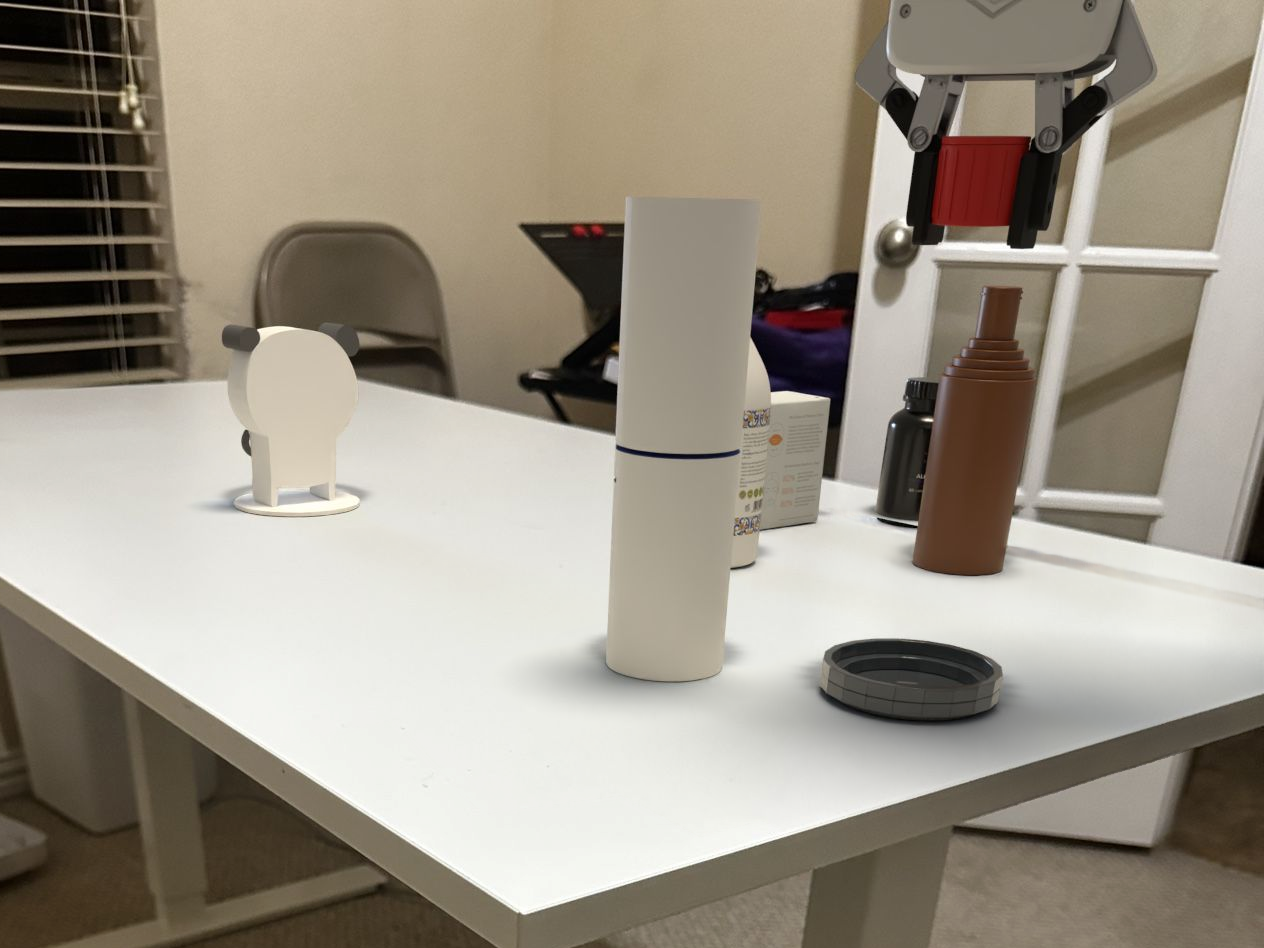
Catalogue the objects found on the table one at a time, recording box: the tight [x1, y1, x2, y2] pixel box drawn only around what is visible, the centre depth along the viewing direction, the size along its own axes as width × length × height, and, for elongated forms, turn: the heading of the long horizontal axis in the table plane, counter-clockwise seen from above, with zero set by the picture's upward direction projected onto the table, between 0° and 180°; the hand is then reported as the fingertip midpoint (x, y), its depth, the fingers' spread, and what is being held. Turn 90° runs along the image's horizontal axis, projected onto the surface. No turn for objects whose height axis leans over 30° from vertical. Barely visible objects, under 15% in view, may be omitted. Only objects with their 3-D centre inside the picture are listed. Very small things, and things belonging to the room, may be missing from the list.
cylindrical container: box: [605, 196, 763, 682], centre depth 78 cm, size 7×7×25 cm
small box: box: [759, 390, 831, 531], centre depth 120 cm, size 8×6×10 cm
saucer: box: [819, 637, 1004, 721], centre depth 79 cm, size 10×10×2 cm
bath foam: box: [730, 336, 772, 569], centre depth 104 cm, size 7×7×20 cm
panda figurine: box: [221, 321, 361, 517], centre depth 122 cm, size 12×11×15 cm
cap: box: [931, 135, 1032, 228], centre depth 66 cm, size 4×4×4 cm
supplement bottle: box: [874, 376, 940, 530], centre depth 121 cm, size 7×7×12 cm
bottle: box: [912, 285, 1038, 576], centre depth 105 cm, size 7×7×20 cm
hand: (973, 242), depth 68 cm, fingers closed on cap, 4 cm apart
